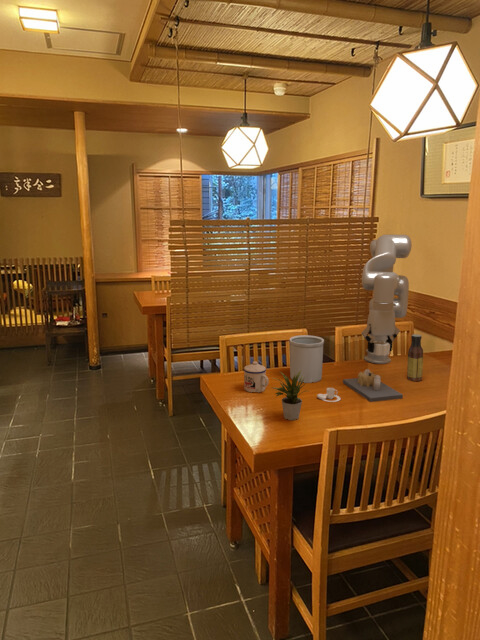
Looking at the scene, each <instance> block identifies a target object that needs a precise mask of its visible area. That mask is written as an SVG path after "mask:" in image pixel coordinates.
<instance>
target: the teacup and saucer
mask: <svg viewBox="0 0 480 640" xmlns="http://www.w3.org/2000/svg"><path fill="white" fill-rule="evenodd" d="M335 392H336V393H335ZM316 397H317V398H318V399H320V400H322V401H324V402H327V403H328V402H329V403H336V402H339V401H340V400H341V399H342V398H341V396H339V395H338V390H337V389H335V388H334V387H327V388H326V393H324V394H323V393H318V394H317V395H316ZM334 398H336V399H335V400H332V399H334ZM327 399H329V400H327Z"/></svg>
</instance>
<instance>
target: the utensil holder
mask: <svg viewBox="0 0 480 640" xmlns="http://www.w3.org/2000/svg"><path fill="white" fill-rule="evenodd" d="M324 344H325V339H324V338H323V337H320V336H315V335H309V334H306V335H304V334H303V335H295V336H291V337H290V338H289V368H290V369H289V373H290V375H289V376H290V377H289V378H290V379H291V380H292V379H293V377H294V375H295V377H296V376H297V374H298V372H300V371H301V372H300V376H299V378H298V382H297V383H299V380H300V378H301V377H302V379H301V382H302V380H303V379H304V381H303V382H304V384H305V383H306V384H310V383H311V384H312V382H313V383H317V382H320V381H321V380H322V377H323V376H322V375H323V360H324V359H323V357H324ZM302 375H303V376H302ZM301 382H300V383H301Z"/></svg>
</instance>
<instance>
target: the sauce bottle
mask: <svg viewBox="0 0 480 640" xmlns="http://www.w3.org/2000/svg"><path fill="white" fill-rule="evenodd" d="M410 337H411V344H410V347H409V349H408V352H407V353H408V354H407V367H406V369H407V371H406V377H407V379H408V380H409V381H412V382H420V381H422V380H423V379H422V377H423V371H424V370H423V369H424V368H423V367H424V350H423V347H422V338H423V337H422V334H419V333H418V334H415V333H414V334H411V336H410Z"/></svg>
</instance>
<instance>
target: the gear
mask: <svg viewBox="0 0 480 640" xmlns="http://www.w3.org/2000/svg"><path fill="white" fill-rule="evenodd" d="M373 343H374V352H373V353H371V354H376V355H383V356H386V355H387V354H388V356H389V355H390V352H391V351H390V344H389V343H388V342H384V341H374V342H373Z"/></svg>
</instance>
